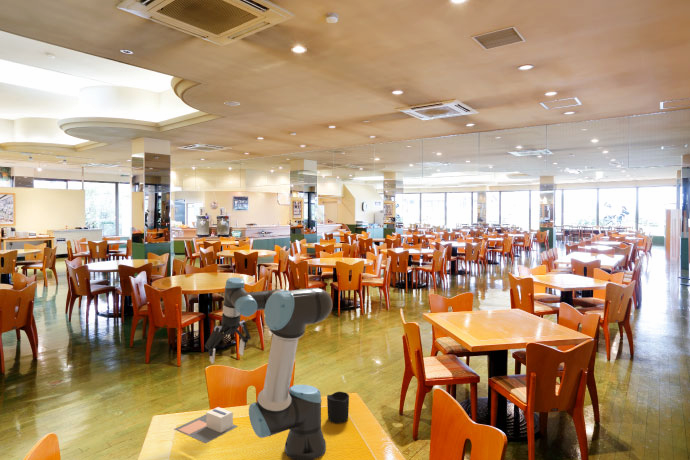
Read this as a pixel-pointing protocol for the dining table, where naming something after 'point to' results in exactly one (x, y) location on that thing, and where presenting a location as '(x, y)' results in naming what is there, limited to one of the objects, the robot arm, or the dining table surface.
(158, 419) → the dining table surface
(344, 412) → the pen holder
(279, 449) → the dining table surface
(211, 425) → the white box
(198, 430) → the mat
